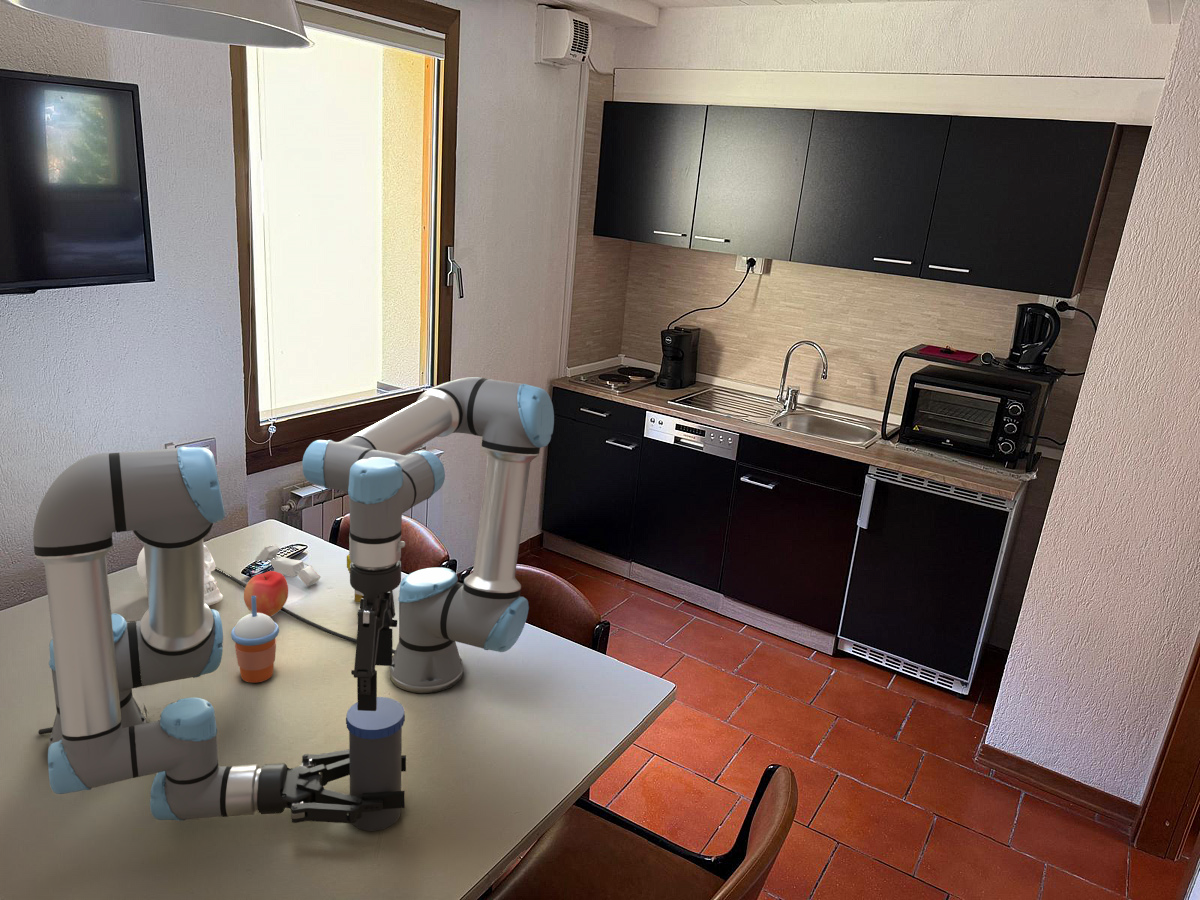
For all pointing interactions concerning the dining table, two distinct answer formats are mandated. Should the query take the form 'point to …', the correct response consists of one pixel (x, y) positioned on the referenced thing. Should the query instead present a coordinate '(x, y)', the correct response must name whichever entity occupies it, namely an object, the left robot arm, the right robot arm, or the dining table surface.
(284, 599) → the apple
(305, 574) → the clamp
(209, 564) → the skull
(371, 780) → the jar
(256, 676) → the cup with straw
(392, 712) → the lid
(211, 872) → the dining table surface
